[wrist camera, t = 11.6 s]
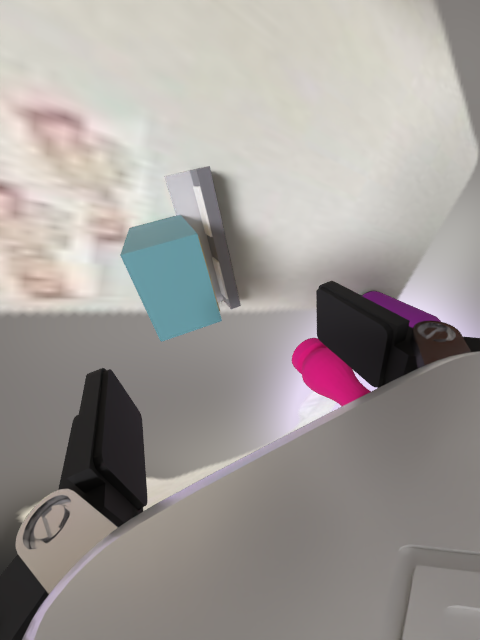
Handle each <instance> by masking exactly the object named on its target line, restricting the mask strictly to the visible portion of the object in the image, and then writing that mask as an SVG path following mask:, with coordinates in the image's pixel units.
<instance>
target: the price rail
mask: <svg viewBox="0 0 480 640" xmlns="http://www.w3.org/2000/svg"><path fill="white" fill-rule="evenodd" d="M164 178H165V181H166V184H167V187H168V190H169V193H170V197H171V200H172V203H173V206H174V209H175V213H176V216H177V215H181V216H182V217H183V218H184V219H185V220H186V221H187V223H188V224H189V225H190V226H191V227H192V228H193V229H194V231H195V232H196V233H197V234H198V237H199V238H200V241H201V245H202V248H203V252H204V256H205V259H206V263H207V266H208V270H209V273H210V277H211V281H212V284H213V288H214V291H215V295H216V298H217V302H220V301H223V300H224V301H225V302H226V304H227V305H228V306H229V307H230V309H233V308H236V307H239V306H241V305H240V301H239V296H238V292H237V287H236V283H235V278H234V274H233V269H232V265H231V260H230V256H229V251H228V247H227V242H226V238H225V233H224V229H223V224H222V220H221V215H220V211H219V206H218V202H217V197H216V193H215V188H214V184H213V179H212V175H211V170H210V166H208V167H203V168H198V169H194V170H190V171H185V172H181V173H177V174H173V175H169V176H164Z"/></svg>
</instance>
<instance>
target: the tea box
mask: <svg viewBox="0 0 480 640" xmlns="http://www.w3.org/2000/svg"><path fill="white" fill-rule="evenodd" d="M121 258H122V260H123V262H124V264H125V266H126V268H127V270H128V272H129V275H130V277H131V279H132V281H133V283H134V285H135V287H136V290H137V292H138V294H139V296H140V298H141V300H142V302H143V305H144V307H145V309H146V311H147V313H148V315H149V317H150V319H151V322H152V324H153V326H154V328H155V330H156V332H157V334H158V336H159V339H160V341H165V340H168V339H170V338H173V337H176V336H179V335H182V334H185V333H188V332H191V331H194V330H196V329H200V328H203V327H205V326H208V325H211V324H214V323H217V322H220V321H222V320H221V316H220V312H219V311H220V309H219V306H218V302H217V298H216V295H215V291H214V288H213V284H212V281H211V277H210V273H209V270H208V266H207V263H206V259H205V256H204V252H203V248H202V245H201V241H200V238H199V237H198V234H197V233H196V232H195V231H194V229H193V228H192V227H191V226H190V225H189V224H188V223H187V221H186V220H185V219H184V218H183V217H182V216H181V215H177V216H173V217H170V218H166V219H162V220H158V221H154V222H151V223H147V224H143V225H139V226H136V227H132V228H129V231H128V234H127V237H126V240H125V243H124V246H123V249H122V252H121Z"/></svg>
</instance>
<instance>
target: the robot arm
mask: <svg viewBox="0 0 480 640" xmlns="http://www.w3.org/2000/svg"><path fill="white" fill-rule="evenodd" d="M316 294H317V336H318V339H319V340H320V342H322V343H323V344H324V345H325V346H326V347H327V348H329V349H330V350H331V351H332V352H333V353H334V354H336V355H337V356H338V357H339V358H340V359H341V360H343V361H344V362H345V363H346V364H347V365H348V366H349V367H351V368H352V369H353V370H354V371H355V372H356V373H358V374H359V375H360V376H361V377H362V378H363V379H365V380H366V381H367V382H368V383H369V384H370V385H372V386H374V387H378V388H377V389H376V390H374V391H372V392H370V393H368V394H366V395H364V396H362V397H360V398H358V399H356V400H354V401H352V402H350V403H348V404H346V405H344V406H342V407H340V408H338V409H337V410H334V411H332V412H330V413H328V414H326V415H324V416H323V417H321V418H319V419H317V420H315V421H313V422H311V423H309V424H307V425H305V426H303V427H301V428H299V429H297V430H295V431H293V432H291V433H290V434H288V435H286V436H284V437H282V438H280V439H278V440H276V441H274V442H272V443H270V444H268V445H266V446H264V447H262V448H261V449H259V450H257V451H255V452H253V453H251V454H249V455H247V456H245V457H243V458H241V459H239V460H238V461H236V462H234V463H232V464H230V465H228V466H226V467H224V468H222V469H220V470H218V471H216V472H214V473H213V474H211V475H209V476H207V477H205V478H203V479H201V480H199V481H197V482H196V483H194V484H192V485H190V486H188V487H186V488H185V489H183V490H181V491H179V492H177V493H175V494H173V495H172V496H170V497H168V498H166V499H164V500H162V501H161V502H159V503H157V504H155V505H153V506H152V507H150V508H148V509H147V510H145V511H143V507H144V506H146V505H147V486H146V472H145V457H144V444H143V427H142V418H141V414H140V412H139V411H138V409H137V407H136V406H135V404H134V403H133V401H132V400H131V398H130V397H129V395H128V394H127V392H126V391H125V389H124V388H123V386H122V385H121V383H120V382H119V380H118V379H117V377H116V376H115V374H114V373H113V372H112V370H107V371H106V369H104V368H102V369H99V370H96V371H94V372H91V373H89V374H87V376H86V380H85V385H84V390H83V396H82V401H81V406H80V411H79V415H77V416H76V417H75V418H74V420H73V423H72V428H71V433H70V438H69V443H68V447H67V452H66V456H65V461H64V466H63V471H62V475H61V480H60V485H59V490H58V491H55V492H52V493H51V494H49V495H48V496H46V497H45V498H43V499H42V500H41V501H40V502H39V503H38V504H37V505H36V506H35V507H34V508H33V509H32V510H31V512H30V513H29V514H28V515H27V516H26V518H25V520H24V522H23V523H22V525H21V527H20V529H19V532H18V535H17V537H16V550H17V553H18V555H17V556H16V557H15V558H14V560H13V561H12V562H11V563H10V565H9V566H8V567H7V568H6V569H5V571H4V572H3V573H2V574H1V576H0V640H480V338H471V337H462V335H461V333H460V332H459V331H458V330H457V329H456V328H455V327H453V326H451V325H449V324H446V323H443V322H439V321H431V320H430V321H422V322H418V323H417V324H415V325H414V327H413V328H412V327H410V326H409V322H410V321H409V320H407V319H406V318H404V317H402V316H400V315H398V314H396V313H394V312H392V311H390V310H388V309H386V308H384V307H382V306H380V305H378V304H377V303H375V302H373V301H371V300H369V299H367V298H365V297H363V296H361V295H359V294H357V293H355V292H353V291H351V290H349V289H347V288H346V287H344V286H342V285H340V284H338V283H336V282H334V281H330V282H327V283H324V284H322V285H320V286H319V289H318V290H317V293H316Z"/></svg>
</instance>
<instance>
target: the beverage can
mask: <svg viewBox="0 0 480 640" xmlns="http://www.w3.org/2000/svg"><path fill="white" fill-rule="evenodd" d="M362 296H363V297H365V298H367V299H369V300H371V301H373V302H375V303H377V304H378V305H380V306H382V307H384V308H386V309H388V310H390V311H392V312H394V313H396V314H398V315H400V316H402V317H404V318H406V319H407V320H409V321H410V322H409V326H410V327H412V328H413V327H414V325H415V324H417V323H418V322H422V321H430V320H431V321H439V322H441V321H440V320H439V319H438V318H437V317H435V316H433V315H431V314H429V313H426V312H424V311H422V310H420V309H417V308H415V307H413V306H410V305H408V304H406V303H403V302H401V301H399V300H397V299H394V298H392V297H390V296H387V295H385V294H383V293H380V292H377V291H371V292H368V293H366V294H364V295H362Z"/></svg>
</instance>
